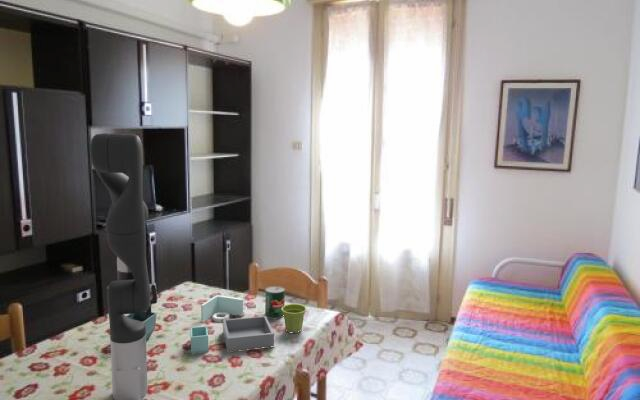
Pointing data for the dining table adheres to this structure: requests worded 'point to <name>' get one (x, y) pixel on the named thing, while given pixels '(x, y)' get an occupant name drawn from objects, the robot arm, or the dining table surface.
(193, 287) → the dining table surface
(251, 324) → the grey open tray
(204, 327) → the teal crate
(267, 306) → the canned tomato
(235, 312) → the right angle wall
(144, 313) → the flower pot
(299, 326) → the plant pot
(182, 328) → the dining table surface
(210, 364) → the dining table surface
